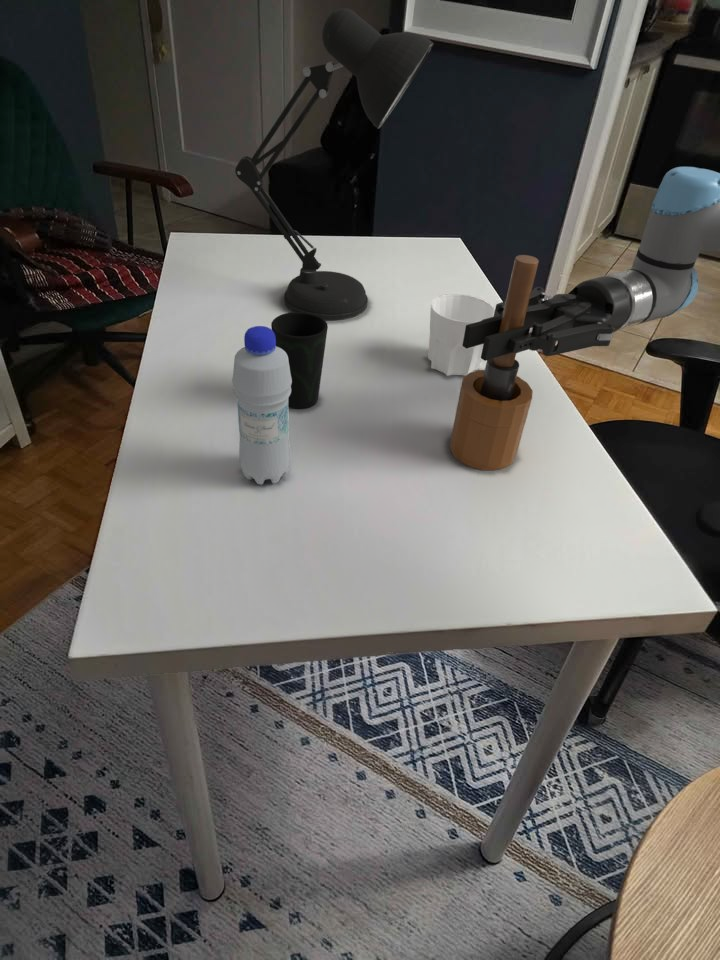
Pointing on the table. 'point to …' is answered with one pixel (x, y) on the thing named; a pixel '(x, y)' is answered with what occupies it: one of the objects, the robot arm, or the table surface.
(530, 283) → the wooden handled pestle
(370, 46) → the desk lamp
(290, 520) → the table surface
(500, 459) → the wooden hollow tube
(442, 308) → the cup
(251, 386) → the bottle
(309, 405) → the cup
